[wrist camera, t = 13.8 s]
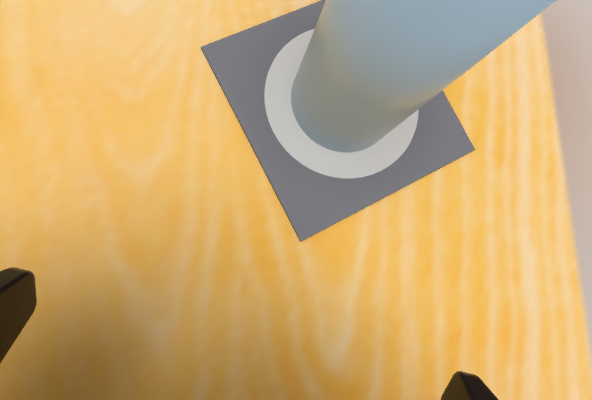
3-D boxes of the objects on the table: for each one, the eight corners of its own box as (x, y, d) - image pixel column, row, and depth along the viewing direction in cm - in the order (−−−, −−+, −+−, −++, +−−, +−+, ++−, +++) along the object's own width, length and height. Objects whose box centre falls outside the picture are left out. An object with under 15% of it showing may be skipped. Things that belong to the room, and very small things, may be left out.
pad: (300, 241, 21) (301, 241, 21) (200, 47, 22) (200, 46, 21) (473, 150, 23) (475, 149, 23) (380, -22, 24) (381, -23, 24)
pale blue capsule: (322, 170, 22) (468, 34, 9) (271, 74, 22) (343, -188, 9) (411, 126, 23) (650, -49, 10) (362, 36, 23) (535, -242, 11)
